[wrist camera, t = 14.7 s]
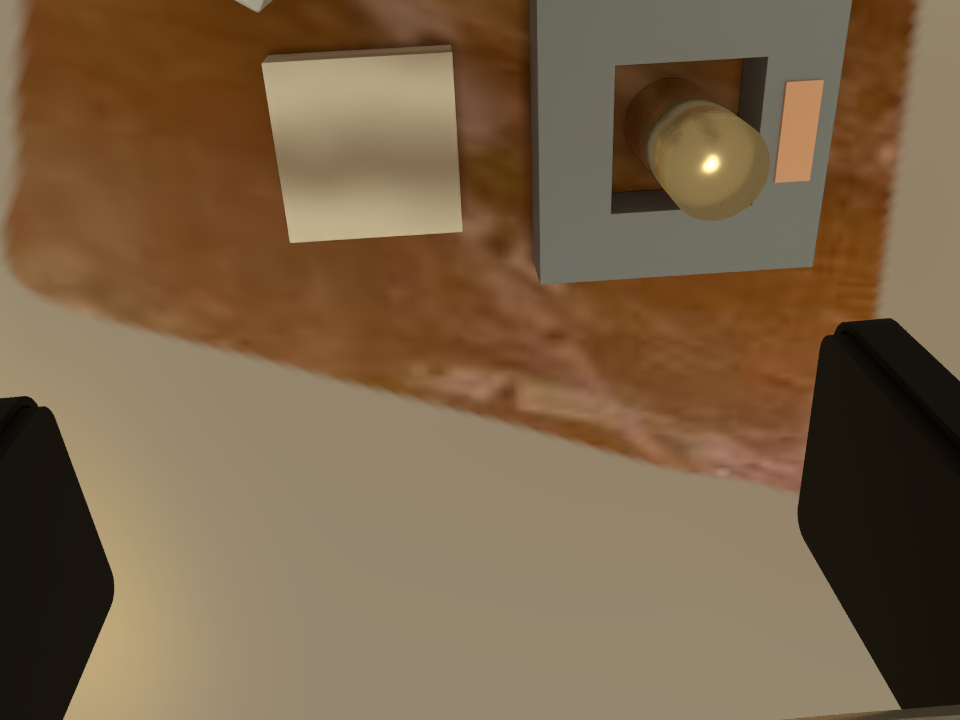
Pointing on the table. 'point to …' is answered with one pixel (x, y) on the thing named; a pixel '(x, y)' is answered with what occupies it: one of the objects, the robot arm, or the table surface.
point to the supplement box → (254, 4)
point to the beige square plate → (365, 142)
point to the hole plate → (653, 214)
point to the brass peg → (697, 149)
